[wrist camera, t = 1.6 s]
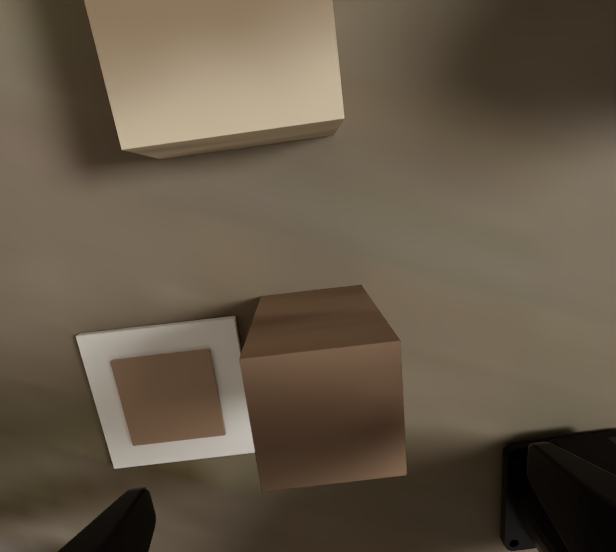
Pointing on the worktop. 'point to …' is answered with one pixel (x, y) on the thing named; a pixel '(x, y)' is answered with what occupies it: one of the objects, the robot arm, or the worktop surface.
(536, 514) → the robot arm
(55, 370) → the worktop surface
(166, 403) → the swatch
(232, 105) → the beech base
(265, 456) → the walnut block
